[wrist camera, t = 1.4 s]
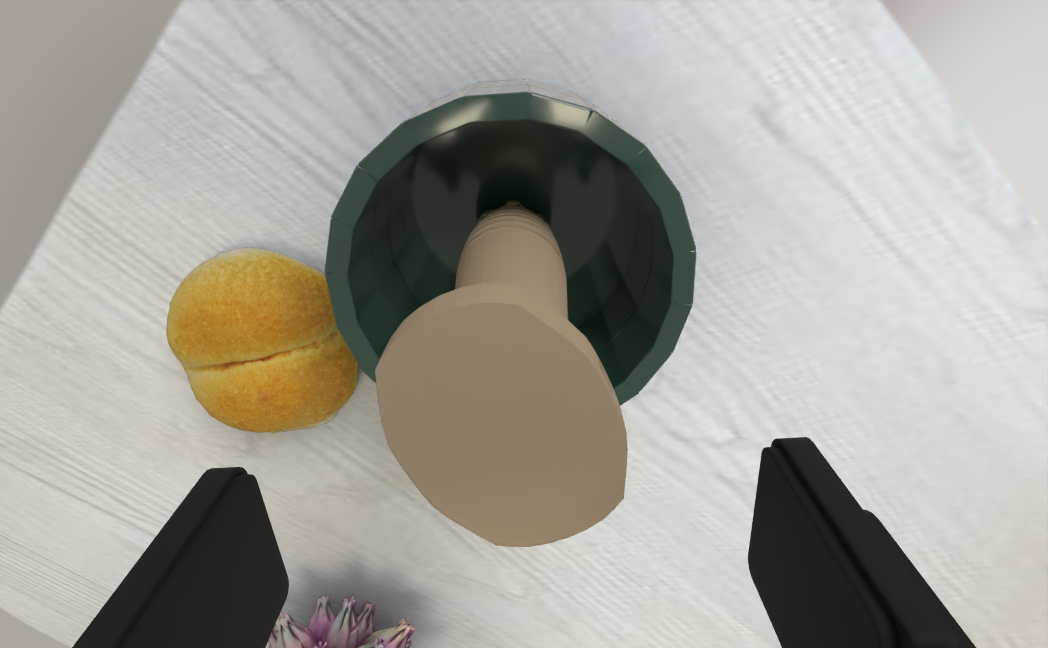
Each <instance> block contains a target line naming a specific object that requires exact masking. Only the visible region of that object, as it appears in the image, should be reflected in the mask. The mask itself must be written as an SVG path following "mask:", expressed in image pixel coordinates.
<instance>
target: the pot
mask: <svg viewBox="0 0 1048 648" xmlns="http://www.w3.org/2000/svg"><path fill="white" fill-rule="evenodd" d="M509 199H516V200H519V201H520V203H521V204H522V205H523V206H524V207H525V208H526V209H529V210H531V211H533V212H534V213H536V214H542V215H543V216H544V217H545V218H546V220H547V221H548V223H549V225H550V228H551V231H552V233H553V235H554V237H555V239H556V242H557V244H558V247H559V249H560V252H561V255H562V259H563V264H564V268H565V273H566V282H567V310H568V321H569V322H570V323H571V324H573V325H574V326H575V327H576V328H577V329H578V330H579V331H580V332H581V333H582V334H583V335H584V336H586V338H587V339H588V341H589V342H590V344H591V345H592V347H593V348H594V350H595V352H596V354H597V356H598V357H599V359H600V361H601V363H602V365H603V367H604V369H605V371H606V374H607V376H608V378H609V380H610V382H611V384H612V387H613V389H614V391H615V394H616V396H617V399H618V402H619V405H622V404H623V403H625V402H627V401H628V400H630V399H631V398H633V397H634V396H636V395H637V394H638V393H639V392H640V391H641V390H642V389H643V388H644V386H645V385H646V384H647V383H648V382H649V380H650V379H651V378H652V377H653V376H654V374H655V373H656V372H657V371H658V370H659V368H660V367H661V366H662V365H663V364H664V363H665V361H666V360H667V359H668V358H669V357H670V355H671V353H673V351H674V349H675V346H676V344H677V341H678V339H679V337H680V334H681V332H682V329H683V327H684V324H685V322H686V320H687V317H688V315H689V312H690V310H691V308H692V304H693V295H694V280H695V265H696V246H695V243H694V239H693V236H692V232H691V228H690V225H689V221H688V218H687V214H686V211H685V207H684V204H683V200H682V197H681V196H680V192H679V191H678V190H677V188H676V187H675V185H674V184H673V183H672V181H671V180H670V178H669V177H668V176H667V174H666V173H665V171H664V170H663V169H662V167H661V166H660V164H659V163H658V162H657V160H656V159H655V157H654V156H653V155H652V153H651V152H650V150H649V149H648V148H647V146H645V145H644V144H643V143H642V142H641V141H640V140H638V139H637V138H636V137H635V136H633V135H632V134H631V133H630V132H629V131H627V130H626V129H625V128H624V127H622V126H621V125H620V124H619V123H617V122H616V121H615V120H614V119H612V118H611V117H609V116H608V115H607V114H605V113H604V112H602V111H601V110H599V109H598V108H597V107H595V106H594V105H592V104H591V103H589V102H588V101H586V100H585V99H584V98H582V97H581V96H579V95H578V94H576V93H574V92H571V91H568V90H564V89H561V88H557V87H554V86H550V85H547V84H544V83H539V82H535V81H532V80H526V79H522V80H501V81H493V82H478V83H477V84H473V85H470V86H468V87H466V88H463V89H461V90H459V91H456V92H454V93H452V94H449V95H447V96H445V97H443V98H440V99H438V100H436V101H433V102H432V103H430V104H429V105H427V106H426V107H424V108H423V109H421V110H420V111H418V112H417V113H416V114H414V115H413V116H411V117H410V118H408V119H407V120H405V121H404V122H402V123H401V124H400V125H399V126H398V127H397V128H396V129H395V130H394V131H392V132H391V133H390V134H389V135H388V136H387V137H386V138H385V139H384V140H383V141H382V142H381V143H380V144H379V145H378V146H376V147H375V148H374V149H373V150H372V151H371V152H370V153H369V154H368V155H367V156H366V157H365V158H364V159H363V160H362V161H360V162H359V164H358V165H357V166H356V168H355V170H354V172H353V174H352V176H351V178H350V180H349V182H348V184H347V186H346V188H345V190H344V192H343V194H342V196H341V198H340V200H339V202H338V204H337V206H336V208H335V210H334V212H333V214H332V216H331V218H332V219H331V222H330V230H329V239H328V247H327V256H326V264H325V273H326V274H325V277H326V282H327V286H328V291H329V295H330V300H331V304H332V308H333V313H334V317H335V322H336V325H337V329H338V330H339V332H340V334H341V336H342V337H343V339H344V341H345V342H346V344H347V346H348V347H349V349H350V351H351V352H352V354H353V356H354V357H355V359H356V361H357V362H358V364H359V366H360V367H361V369H362V371H364V373H365V374H367V375H368V376H369V377H370V378H371V379H372V380H373V381H374V382H375V383H376V375H375V369H376V367H377V364H378V362H379V360H380V358H381V356H382V354H383V352H384V350H385V348H386V346H387V344H388V342H389V340H390V338H391V337H392V335H393V334H394V332H395V331H396V330H397V328H398V327H399V326H400V325H401V323H402V322H403V321H404V320H405V319H406V318H407V317H408V316H409V315H411V314H412V313H413V312H414V311H415V310H417V309H418V308H419V307H421V306H422V305H424V304H426V303H427V302H429V301H431V300H433V299H434V298H436V297H438V296H440V295H442V294H445V293H447V292H450V291H453V290H455V284H456V274H457V269H458V265H459V261H460V257H461V254H462V251H463V248H464V245H465V243H466V241H467V239H468V237H469V235H470V233H471V232H472V230H473V228H474V227H475V226H476V225H477V222H478V220H479V218H480V217H481V215H482V214H483V213H484V212H485V211H486V210H495V209H497V208H500V207H501V206H503V205H504V204H505V203H506V202H507V200H509Z"/></svg>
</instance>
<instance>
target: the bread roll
mask: <svg viewBox="0 0 1048 648" xmlns="http://www.w3.org/2000/svg"><path fill="white" fill-rule="evenodd" d="M167 339H168V343H169V345H170V347H171V349H172V351H173V353H174V354H175V356H176V357H177V358H178V359H179V361H180V362H181V364H182V365H183V367H184V369H185V371H186V373H187V376H188V379H189V382H190V385H191V388H192V390H193V392H194V394H195V397H196V399H197V400H198V401H199V402H200V404H201V405H202V406H203V407H204V408H205V409H206V411H207V412H208V413H209V415H211V416H212V417H214V418H215V419H217V420H219V421H220V422H222V423H224V424H226V425H228V426H231V427H233V428H236V429H239V430H244V431H251V432H271V433H276V432H279V431H282V432H286V431H293V430H298V429H304V428H312V427H315V426H318V425H321V424H324V423H326V422H329V421H330V420H332V419H333V418H334V417H335V416H336V414H337V412H338V410H339V409H340V408H341V407H342V406H344V405H345V404H346V402H347V401H348V400H349V398H350V397H351V395H352V394H353V392H354V390H355V388H356V384H357V375H358V362H357V361H356V359H355V357H354V356H353V354H352V352H351V351H350V349H349V347H348V346H347V344H346V342H345V341H344V339H343V337H342V336H341V334H340V332H339V330H338V329H337V325H336V322H335V317H334V313H333V308H332V304H331V300H330V295H329V291H328V286H327V282H326V277H325V275H324V274H323V273H322V272H320V271H318V270H316V269H314V268H312V267H310V266H308V265H306V264H304V263H302V262H300V261H297V260H295V259H293V258H290V257H288V256H286V255H282V254H279V253H276V252H273V251H269V250H264V249H259V248H240V249H233V250H229V251H225V252H222V253H220V254H218V255H216V256H215V257H213V258H211V259H209V260H207V261H206V262H204V263H202V264H201V265H199V266H198V267H197V268H195V269H194V270H193V271H191V272H190V273H189V274H188V275H187V277H186V278H185V279H184V280H183V281H182V282H181V284H180V285H179V287H178V289H177V290H176V292H175V294H174V296H173V298H172V300H171V302H170V310H169V314H168V319H167Z"/></svg>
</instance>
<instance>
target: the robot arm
mask: <svg viewBox="0 0 1048 648" xmlns="http://www.w3.org/2000/svg"><path fill="white" fill-rule="evenodd" d="M748 564H749V570H750V574H751V577H752V579H753V582H754V584H755V586H756V588H757V591H758V593H759V595H760V598H761V600H762V602H763V605H764V607H765V609H766V611H767V614H768V616H769V618H770V621H771V623H772V625H773V628H774V630H775V632H776V634H777V637H778V639H779V641H780V644H781V646H782V648H976V647H975V646H974V644H973V643H972V642H971V640H970V639H969V638H968V636H967V635H966V634H965V632H964V631H963V630H962V628H961V627H960V626H959V625H958V623H957V622H956V621H955V619H954V618H953V617H952V615H951V614H950V613H949V611H948V610H947V609H946V607H945V606H944V605H943V603H942V602H941V601H940V599H939V598H938V597H937V596H936V594H935V593H934V592H933V590H932V589H931V588H930V586H929V585H928V584H927V582H926V581H925V580H924V578H923V577H922V576H921V574H920V573H919V572H918V571H917V569H916V568H915V567H914V565H913V564H912V563H911V561H910V560H909V559H908V557H907V556H906V555H905V553H904V552H903V551H902V549H901V548H900V547H899V545H898V544H897V543H896V542H895V540H894V539H893V538H892V536H891V535H890V534H889V532H888V531H887V530H886V528H885V527H884V526H883V524H882V523H881V522H880V520H879V519H878V518H877V517H876V516H875V515H874V514H873V513H871V512H869V511H867V510H863V509H862V508H861V506H860V505H859V504H858V502H857V501H856V500H855V498H854V497H853V496H852V494H851V493H850V491H849V490H848V489H847V487H846V486H845V485H844V483H843V482H842V481H841V479H840V478H839V477H838V475H837V474H836V473H835V471H834V470H833V469H832V467H831V466H830V464H829V463H828V462H827V460H826V459H825V458H824V456H823V455H822V454H821V452H820V451H819V450H818V448H817V447H816V446H815V444H814V443H813V442H812V441H811V440H810V439H809V438H807V437H801V438H782V439H775V440H773V442H772V444H771V447H766V448H764V449H763V451H762V454H761V462H760V470H759V477H758V485H757V492H756V500H755V507H754V515H753V522H752V530H751V537H750V545H749V553H748ZM288 588H289V580H288V576H287V573H286V570H285V567H284V563H283V560H282V557H281V554H280V551H279V548H278V545H277V542H276V539H275V535H274V532H273V529H272V526H271V523H270V520H269V517H268V514H267V511H266V507H265V504H264V501H263V498H262V495H261V492H260V489H259V486H258V483H257V480H256V478H255V476H254V475H251V474H247V472H246V470H245V469H244V468H242V467H230V468H211V469H209V470H207V471H206V472H205V473H204V474H203V475H202V476H201V478H200V479H199V480H198V482H197V483H196V484H195V486H194V487H193V488H192V490H191V491H190V492H189V494H188V495H187V496H186V498H185V499H184V500H183V502H182V503H181V504H180V506H179V507H178V508H177V510H176V511H175V512H174V514H173V515H172V516H171V517H170V519H169V520H168V521H167V523H166V524H165V525H164V527H163V528H162V529H161V531H160V532H159V533H158V535H157V536H156V537H155V539H154V540H153V541H152V543H151V544H150V545H149V547H148V548H147V549H146V551H145V552H144V553H143V555H142V556H141V557H140V559H139V560H138V561H137V563H136V564H135V565H134V567H133V568H132V569H131V570H130V572H129V573H128V574H127V576H126V577H125V578H124V580H123V581H122V582H121V584H120V585H119V586H118V588H117V589H116V590H115V592H114V593H113V594H112V596H111V597H110V598H109V600H108V601H107V602H106V604H105V605H104V606H103V608H102V609H101V610H100V612H99V613H98V614H97V616H96V617H95V618H94V620H93V621H92V622H91V624H90V625H89V626H88V627H87V629H86V630H85V631H84V633H83V634H82V635H81V637H80V638H79V639H78V641H77V642H76V643H75V645H74V646H73V647H72V648H265V647H266V645H267V642H268V640H269V638H270V635H271V633H272V631H273V629H274V626H275V624H276V622H277V619H278V617H279V615H280V612H281V610H282V608H283V605H284V603H285V601H286V598H287V594H288Z"/></svg>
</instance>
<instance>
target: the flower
mask: <svg viewBox="0 0 1048 648" xmlns="http://www.w3.org/2000/svg"><path fill="white" fill-rule="evenodd" d="M374 610H375V606H373V604H369V602H367V603H366V604H365V606H364V608H363V610H362V612H361V614H360V615H359V616H358V617H356V614H355V600H354V595H352V596H350V597H349V598H348V599H346V598H345V599H344V602H343V606H342V609H341V611H340V613H339V614H338V616H337V618H336V617H335V615H334V614H333V612H332V611H331V608H330V602H329V596H327V597H324V596H323V597H322V598H319V599H318V601H317V607H316V611H315V613H314V615H313V617H311V618H310V623H309V626H308V628H307V627H306V626H304V625H302V624H299V623H297V622H295V621H293V619H292V618H291V617H290V615H289V614H288V613H285V615H280V617H279V619H277V622H276V626H277V629H278V631H277V630H276V629H275V628H274V629H273V631H272V633H271V635H270V638H269V640H268V642H269V648H409V647H410V646H411V642H412V641H411V640H410V639H409V637H410V636H411V635H412V633H413V632H414V631H415V628H413V624H411V625H409V623H408V621H406V618H403V619H402V620H401V621H400V622H399V623H398V624H396V625H395V626H394V627H391V628H387V629H383V630H378V631H376V632H374V628H373V621H372V618H373V614H374Z"/></svg>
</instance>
